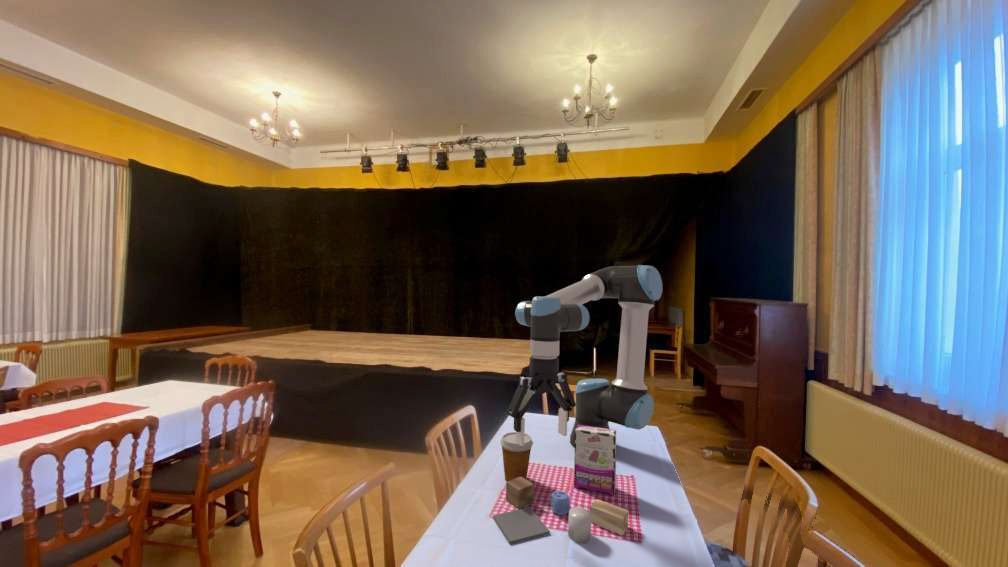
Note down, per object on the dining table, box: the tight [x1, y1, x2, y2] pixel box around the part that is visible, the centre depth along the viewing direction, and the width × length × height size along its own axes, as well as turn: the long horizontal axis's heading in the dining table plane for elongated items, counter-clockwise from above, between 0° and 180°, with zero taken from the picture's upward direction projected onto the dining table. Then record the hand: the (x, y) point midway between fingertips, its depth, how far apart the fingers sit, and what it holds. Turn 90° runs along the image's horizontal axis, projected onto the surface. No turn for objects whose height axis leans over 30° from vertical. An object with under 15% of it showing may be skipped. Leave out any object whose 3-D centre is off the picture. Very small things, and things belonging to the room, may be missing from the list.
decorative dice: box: [550, 490, 571, 516], centre depth 95 cm, size 4×4×4 cm
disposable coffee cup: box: [499, 431, 534, 482], centre depth 110 cm, size 10×10×12 cm
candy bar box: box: [573, 425, 617, 496], centre depth 107 cm, size 11×5×16 cm, turn 70°
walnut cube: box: [505, 476, 534, 510], centre depth 99 cm, size 5×5×5 cm
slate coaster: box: [492, 506, 551, 545], centre depth 89 cm, size 10×10×1 cm
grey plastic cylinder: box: [567, 507, 592, 544], centre depth 86 cm, size 5×5×5 cm
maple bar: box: [589, 498, 630, 536], centre depth 90 cm, size 4×8×4 cm, turn 55°
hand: (541, 439), depth 97 cm, fingers open, 13 cm apart
